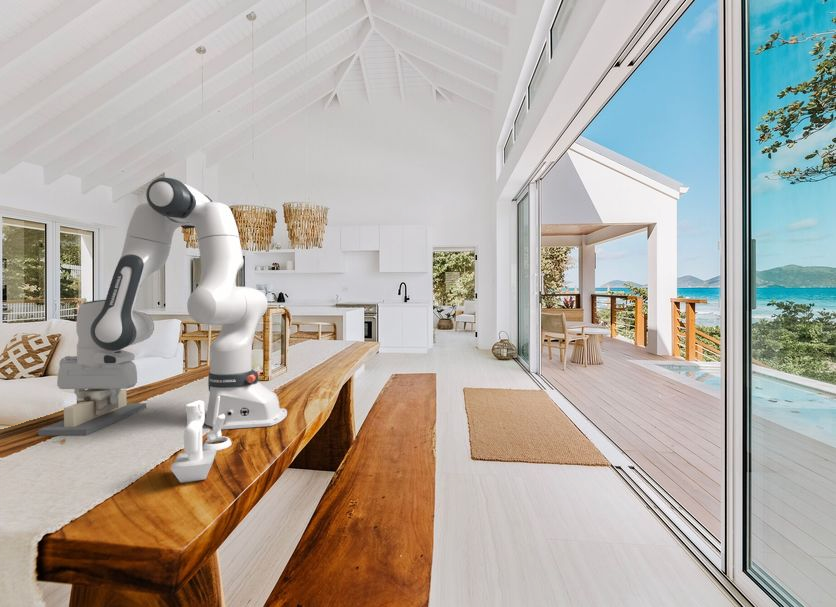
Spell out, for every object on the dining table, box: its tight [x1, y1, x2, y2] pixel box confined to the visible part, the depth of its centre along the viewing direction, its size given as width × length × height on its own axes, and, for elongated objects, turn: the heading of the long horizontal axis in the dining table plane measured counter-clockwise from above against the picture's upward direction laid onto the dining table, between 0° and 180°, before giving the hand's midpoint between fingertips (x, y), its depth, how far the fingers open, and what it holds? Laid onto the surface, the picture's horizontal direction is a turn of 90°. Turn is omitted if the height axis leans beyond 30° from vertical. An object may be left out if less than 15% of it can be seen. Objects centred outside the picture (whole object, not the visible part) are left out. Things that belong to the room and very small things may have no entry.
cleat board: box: [37, 389, 147, 437], centre depth 114 cm, size 12×24×6 cm, turn 2°
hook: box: [202, 414, 232, 451], centre depth 94 cm, size 6×10×6 cm
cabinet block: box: [76, 389, 119, 415], centre depth 113 cm, size 6×8×6 cm
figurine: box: [169, 400, 218, 484], centre depth 79 cm, size 7×9×15 cm
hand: (98, 403), depth 114 cm, fingers closed on cabinet block, 6 cm apart
